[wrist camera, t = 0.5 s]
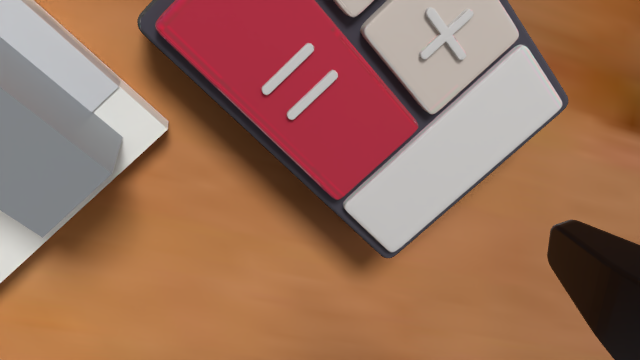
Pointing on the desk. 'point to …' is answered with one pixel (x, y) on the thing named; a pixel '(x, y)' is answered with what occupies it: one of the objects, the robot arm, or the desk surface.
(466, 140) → the calculator
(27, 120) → the rail board
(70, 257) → the desk surface
